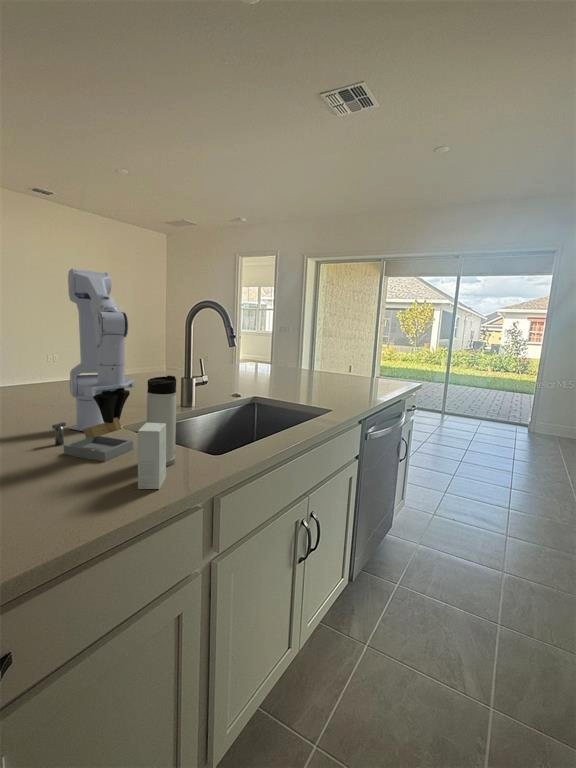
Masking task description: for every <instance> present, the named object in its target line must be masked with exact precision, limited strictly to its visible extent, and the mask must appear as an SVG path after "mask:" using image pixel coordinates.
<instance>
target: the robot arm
mask: <svg viewBox="0 0 576 768" xmlns="http://www.w3.org/2000/svg"><path fill="white" fill-rule="evenodd" d="M67 275H68V276H67V285H68V297H69V300H70V301H71V302H72V303H74V304H76V306H77V307H76V308H77V311H78V327H79V329H78V330H79V350H80V352H79V353H80V354H79V355H80V362H79V364H76V366H74V367H73V368H71V370H70V372H69V374H70V375H69V382H68V383H69V393H70V395H71V397H72V398H75V405H76V406H75V408H76V409H75V411H76V413H75V414H76V415H75V416H76V417H75V418H76V424H75V425H72V426H69V430H75V431H80V432H84V430H83V429H86V428H89V427H92V426H95V425H99V424H102V423H105V422H106V423H113V419H114V418H116V417H118V419H119V421H120V420H121V419H120V418H121V417H122V416H121V415H122V412H123V408H124V406H125V404H126V402H127V399H128V397H129V396H130V393H131V391H130V390H126V389H128V388H129V389H130V388H135V384H136V383H135V381H136V380H135V379H133V378H132V379H131V378H125V376H126V375H125V373H126V372H125V365H126V364H125V352H126V351H125V347H126V345H125V343H126V342H125V339H126V338H127V336H128V332H129V320H128V315H127V313H126V312H125V311H120V310H119V308H118V306H117V304H116V301H115V299H114V298H113V297H112V296H110V294H111V292H112V278H111V275H110V273H108V272H102V271H101V272H100V271H91V270H85V269H83V270H82V269H75V268H71V269H69V270H68V274H67Z"/></svg>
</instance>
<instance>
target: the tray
mask: <svg viewBox="0 0 576 768" xmlns="http://www.w3.org/2000/svg"><path fill="white" fill-rule="evenodd" d="M132 450H134V440H133V439H126V438H120V437H114V436H108V435H107V436H106V435H101V436H98V437H94V438H91V439H86V437H84V438H81V439H78V440H75V441H72V442H69V443H66V444H63V455H67V456H72V457H77V458H82V459H89V460H93V461H97V462H98V461H99V462H104V463H105V462H107V461H110V460H112V459H114V458H116V457H118V456H121V455H123V454H126V453H127V452H130V451H132Z"/></svg>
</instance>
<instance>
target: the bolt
mask: <svg viewBox="0 0 576 768" xmlns="http://www.w3.org/2000/svg"><path fill="white" fill-rule="evenodd" d="M66 426H67V424H66V422H64V421H62V422H59V423H55V424H52V426H51V427H52V428H51V429H54V441H55V443H54V445H55V446H57V445H58V446H59V445H60V446H64V445H65V444H64V442H65V441H64V435H65V434H64V427H66Z"/></svg>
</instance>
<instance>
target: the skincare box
mask: <svg viewBox="0 0 576 768" xmlns="http://www.w3.org/2000/svg"><path fill="white" fill-rule="evenodd" d="M166 471H167V466H166V424H165V423H147V422H145V423H144V424H143V425H142V426H141V427H140V428H139V429H138V430H137V489H138V490H139V489H159V490H160V489H161V487H162V485H163V483H164V482H165V479H166V478H167V472H166Z"/></svg>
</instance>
